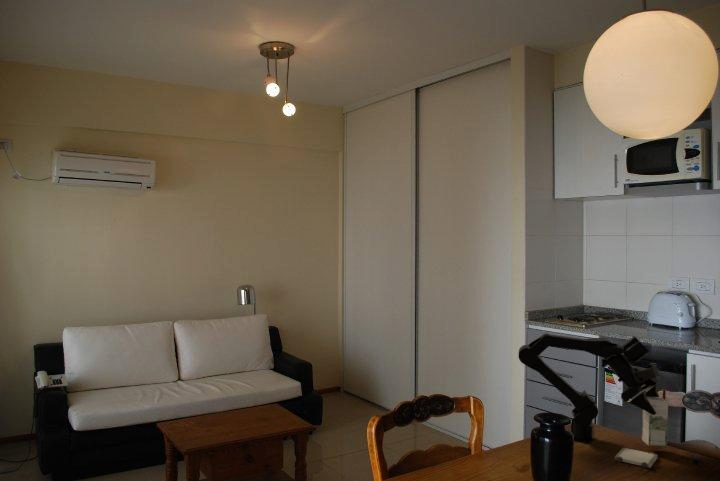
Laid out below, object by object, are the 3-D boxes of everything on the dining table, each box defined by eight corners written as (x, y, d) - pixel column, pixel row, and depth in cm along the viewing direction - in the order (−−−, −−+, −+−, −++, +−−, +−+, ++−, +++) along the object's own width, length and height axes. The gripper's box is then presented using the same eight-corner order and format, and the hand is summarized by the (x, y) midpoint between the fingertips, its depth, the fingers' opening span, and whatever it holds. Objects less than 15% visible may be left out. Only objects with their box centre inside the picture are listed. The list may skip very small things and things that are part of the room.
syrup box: (659, 440, 191) (660, 396, 191) (667, 447, 185) (668, 401, 185) (641, 440, 191) (642, 395, 191) (648, 446, 185) (649, 400, 185)
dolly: (614, 461, 180) (614, 455, 180) (623, 450, 189) (623, 445, 189) (649, 469, 174) (649, 463, 174) (657, 458, 183) (657, 452, 183)
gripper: (631, 360, 184) (669, 403, 176) (652, 352, 197) (688, 391, 189) (606, 381, 189) (641, 423, 182) (628, 371, 203) (661, 410, 195)
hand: (659, 411), depth 187 cm, fingers closed on syrup box, 8 cm apart
